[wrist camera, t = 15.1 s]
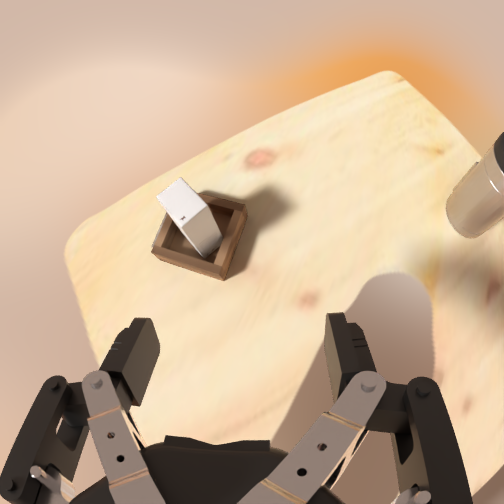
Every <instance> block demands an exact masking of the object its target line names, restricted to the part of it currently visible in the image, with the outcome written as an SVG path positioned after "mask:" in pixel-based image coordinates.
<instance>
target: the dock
mask: <svg viewBox="0 0 504 504" xmlns="http://www.w3.org/2000/svg"><path fill="white" fill-rule="evenodd" d="M197 194H198V195H199V196H200V197H201V198H202V199H203V201H204V202H205V203H206V204H207V205H208V207H209V209H210V211H211V213H212V215H213V218H214V220H215V222H216V224H217V226H218V228H219V230H220V232H221V234H222V237H223V241H222V243H221V245H220V246H219V247H218V248H217V249H216V250H214V251H213V252H212V253H211V254H210V255H209V256H207V257H206V258H205V259H204V258H203V257H202V256H201V255H200V254H199V252H198V251H197V250H196V249H195V248H194V247H193V245H192V244H191V243H190V242H189V241H188V239H187V238H186V237H185V236H184V234H183V233H182V232H181V231H180V229H179V228H178V226H177V225H176V224H175V222H174V221H173V220H172V218H171V217H170V216H169V214H168V213H166V215H165V217H164V219H163V221H162V224H161V226H160V228H159V231H158V233H157V235H156V237H155V240H154V242H153V244H152V247H153V249H152V251H151V253H153V254H154V255H155V256H156V257H157V258H159V259H160V260H161V261H164V262H167V263H170V264H173V265H176V266H179V267H182V268H185V269H188V270H191V271H194V272H197V273H200V274H203V275H207V276H210V277H213V278H216V279H219V280H222V281H224V280H225V277H226V274H227V271H228V269H229V266H230V263H231V260H232V258H233V255H234V252H235V249H236V247H237V244H238V241H239V238H240V236H241V233H242V230H243V228H244V225H245V222H246V219H247V217H248V215H247V211H246V207H245V205H244V204H240V203H236V202H232V201H228V200H224V199H220V198H216V197H212V196H208V195H204V194H200V193H197Z"/></svg>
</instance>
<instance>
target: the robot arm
mask: <svg viewBox="0 0 504 504" xmlns="http://www.w3.org/2000/svg"><path fill="white" fill-rule="evenodd" d="M446 211H447V215H448V219H449V221H450V223H451V224H452V226H453V227H454V229H455V230H456V231H457V232H458V233H460V234H461V235H463V236H465V237H467V238H476V237H478V236H479V235H481V234H482V233H484V232H485V231H486V230H488V229H489V228H490V227H492V226H493V225H494V224H496V223H497V222H498V221H500V220H501V219H502V218H503V217H504V132H503V133H502V134H501V135H500V136H499V138H498V139H497V140H496V142H495V143H494V144H493V145H492V147H491V148H490V149H489V151H488V152H487V153H486V154H485V156H484V157H483V158H482V159H481V161H480V162H476V163H475V164H474V165H473V166H472V167H471V169H470V170H469V171H468V172H467V173H466V175H465V176H464V177H463V178H462V179H461V181H460V182H459V183H458V184H457V185H456V186H455V188H454V189H453V193H452V194H451V195H450V197H449V198H448V200H447V204H446ZM324 347H325V355H326V360H327V366H328V371H329V377H330V382H331V388H332V394H333V400H334V405H333V407H332V408H331V409H330V411H328V412H324V413H322V414H321V415H320V417H319V418H318V419H317V420H316V422H315V423H314V424H313V425H312V427H311V428H310V429H309V430H308V432H307V433H306V434H305V435H304V437H303V438H302V439H301V440H300V441H299V442H298V444H297V445H296V446H295V447H294V448H293V449H292V451H291V452H290V453H288V452H285V451H283V450H280V449H277V448H273V447H270V440H243V441H237V442H232V443H227V444H221V445H212V444H208V443H205V442H202V441H198V440H195V439H192V438H187V437H177V436H168V435H166V436H165V440H164V442H161V443H156V444H153V445H150V446H148V447H147V445H146V443H145V441H144V439H143V437H142V435H141V433H140V431H139V429H138V427H137V425H136V423H135V421H134V419H133V416H132V414H131V412H130V411H129V410H130V407H131V405H133V406H140V405H141V403H142V400H143V397H144V394H145V392H146V389H147V386H148V383H149V381H150V378H151V375H152V372H153V370H154V367H155V364H156V362H157V359H158V356H159V353H160V343H159V340H158V337H157V334H156V331H155V328H154V325H153V322H152V320H151V319H150V318H134V319H133V321H132V323H131V325H130V327H129V328H125V329H124V330H122V331H121V332H120V333H119V334H118V335H117V337H116V339H115V341H114V344H113V345H112V346H111V350H109V352H108V354H107V356H106V357H105V359H104V361H103V363H102V365H101V367H100V369H99V371H93V372H91V373H89V374H88V375H87V376H86V377H85V378H84V379H83V381H82V382H76V383H68V382H67V381H66V379H65V378H64V377H62V376H53V377H51V378H49V379H48V380H46V381H45V383H44V384H43V386H42V388H41V390H40V392H39V393H38V395H37V397H36V399H35V401H34V403H33V405H32V407H31V409H30V411H29V413H28V415H27V417H26V419H25V421H24V423H23V425H22V428H21V429H20V432H19V434H18V436H17V438H16V441H15V443H14V445H13V447H12V449H11V452H10V454H9V456H8V459H7V461H6V463H5V466H4V468H3V471H2V473H1V476H0V495H1V496H2V497H3V498H4V499H5V500H7V501H9V502H10V503H11V504H345V503H344V502H343V501H342V500H341V499H340V498H338V497H337V496H336V495H335V494H334V493H333V492H332V491H331V489H332V487H333V486H334V485H335V483H336V482H337V481H338V479H339V478H340V476H341V475H342V473H343V472H344V470H345V468H346V467H347V465H348V463H349V462H350V460H351V459H352V457H353V456H354V454H355V452H356V451H357V449H358V448H359V446H360V445H361V443H362V442H363V440H364V438H365V437H366V435H367V433H368V432H369V430H370V431H378V432H388V433H390V435H391V440H392V446H393V451H394V457H395V463H396V469H397V476H398V483H399V491H400V495H399V496H398V497H397V498H396V499H395V500H394V501H393V502H392V503H391V504H473V502H472V497H471V492H470V488H469V484H468V479H467V475H466V471H465V468H464V464H463V460H462V456H461V453H460V449H459V446H458V443H457V439H456V436H455V433H454V430H453V426H452V423H451V420H450V417H449V414H448V411H447V408H446V406H445V403H444V400H443V397H442V394H441V392H440V389H439V387H438V385H437V383H436V382H435V381H433V380H432V379H429V378H427V377H417V378H414V379H412V380H411V381H410V382H409V383H408V385H403V384H394V383H390V382H387V381H385V379H384V378H383V376H381V375H380V374H378V373H377V371H376V368H375V365H374V362H373V359H372V356H371V353H370V350H369V347H368V344H367V341H366V340H365V336H364V333H363V330H362V329H361V328H360V327H359V326H358V325H357V324H356V323H347V321H346V318H345V315H344V313H343V312H339V313H327V315H326V325H325V338H324ZM61 417H62V418H63V420H62V422H61V425H60V427H59V430H58V432H57V435H56V428H57V426H58V423H59V421H60V418H61ZM89 430H90V431H91V434H92V437H93V440H94V443H95V446H96V449H97V452H98V455H99V457H100V460H101V463H102V466H103V468H104V471H105V474H106V476H105V477H104V478H102V479H101V480H99V481H98V482H96V483H95V484H93V485H92V486H91V487H89V488H88V489H86V490H85V491H83V492H82V493H80V494H79V495H77V496H76V495H75V489H74V486H73V484H72V481H73V478H74V474H75V471H76V468H77V465H78V462H79V459H80V455H81V453H82V450H83V447H84V444H85V441H86V438H87V435H88V432H89Z"/></svg>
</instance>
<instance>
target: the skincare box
mask: <svg viewBox="0 0 504 504" xmlns="http://www.w3.org/2000/svg"><path fill="white" fill-rule="evenodd" d="M156 197H157V199H158V200H159V202H160V203H161V205H162V206H163V207H164V209H165V210H166V212H167V213H168V214H169V216H170V217H171V218H172V220H173V221H174V222H175V224H176V225H177V226H178V228H179V229H180V231H181V232H182V233H183V234H184V236H185V237H186V238H187V239H188V241H189V242H190V243H191V244H192V245H193V247H194V248H195V249H196V250H197V251H198V252H199V254H200V255H201V256H202V257H203V258H204V259H205V258H206V257H207V256H209V255H210V254H211V253H212V252H213V251H214V250H216V249H217V248H218V247H219V246H220V245H221V243H222V241H223V237H222V234H221V232H220V230H219V228H218V226H217V224H216V222H215V220H214V218H213V215H212V213H211V211H210V209H209V207H208V205H207V204H206V203H205V202H204V201H203V199H202V198H201V197H200V196H199V195H198V194H197V193H196V192H195V191H194V190H193V189H192V188H191V187H190V186H189V185H188V184H187V183H186V182H185V181H184V180H183V179H182V178H181V177H180V178H179V179H178V180H176V181H175V182H174V183H173V184H171V185H170V186H169V187H168V188H166V189H165V190H164V191H162V192H161V193H160V194H159V195H157V196H156Z"/></svg>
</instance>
